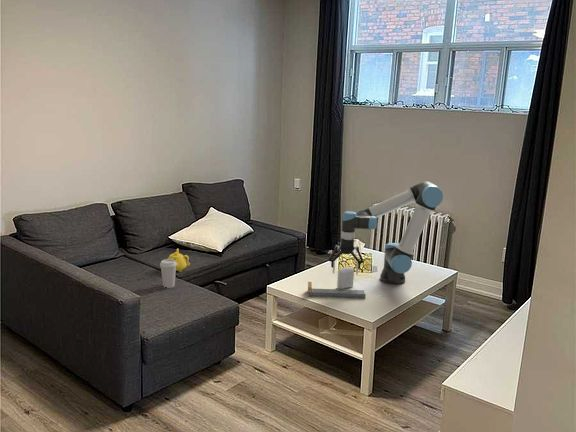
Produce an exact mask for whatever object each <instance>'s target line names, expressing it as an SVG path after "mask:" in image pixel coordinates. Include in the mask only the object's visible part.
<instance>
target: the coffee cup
mask: <svg viewBox="0 0 576 432" xmlns="http://www.w3.org/2000/svg"><path fill="white" fill-rule="evenodd" d="M176 265H177V263H176V261H175V260H173V259H168V258H167V259H166V258H165V259H163V260H161V262H160V263H159V266H160V270H161V279H162V287H163V286H164V287H163V288H165V287H167V288H166V289H173V288H174V287H175V286H176V285H175V284H176V283H175V282H176V273H177V272H176Z"/></svg>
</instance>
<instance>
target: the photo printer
mask: <svg viewBox="0 0 576 432" xmlns="http://www.w3.org/2000/svg"><path fill="white" fill-rule="evenodd" d="M354 276H355V269H354V267H352V266H343V267H341V268H339V269H338V270H337V281H336V282H337V283H336V285H337V289H342V290H345V289H348V288H352V287H354V279H355V278H354Z"/></svg>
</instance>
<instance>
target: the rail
mask: <svg viewBox="0 0 576 432" xmlns="http://www.w3.org/2000/svg"><path fill="white" fill-rule="evenodd" d="M312 283H313V282H312V281H307V297H308V298H309V297H311V298H332V299H333V298H335V299H336V298H337V299H363V300H364V299H366V296H367V295H366V292H365V290H364V289H339V288H337V289H335V288H313V284H312Z"/></svg>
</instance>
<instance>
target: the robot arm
mask: <svg viewBox="0 0 576 432" xmlns="http://www.w3.org/2000/svg"><path fill="white" fill-rule="evenodd" d="M443 201H444V194H443V191H442V189H441V188H440V187H439V186H437V185H436V184H434V183H432V182H431V181H422V182H419V183H417V184H415V185H412V186H410V187H409V188H408V189H407V190H405V191H404V192H401V193H399V194H396V195H394V196H392V197H390V198H387V199H386V200H384V201H381V202H379V203H377V204H375V205H372V206H370V207H367V208H364V209H359V210H357V211H356V212H355V211H351V210H346V211H344V212H343V213H342V219H341V221H342V222H341V234H340V235H341V236H340V245H337V244H335V245H334V249H333V250H332V252H331V254H330V255H329V257H328V262H330V263H331V265H330V267H331V268H332V274H335V267H336V262H335V261H336V260H338V258H339V257H340V256H341V255H352V256H353V258H354V259H355V260H356V269H355V275H358V274H359V270H360V269H361V264H363V263H364V259H363V257H362V254H361V252H360V246H358V245H357V246H355V237H356V236H355V234H356V233H355V232H356V229H358V230H376V228H377V226H378V219H377V218H380V217H382V216H384V215H386V214H390V213H391V212H393V211H396V210H398V209H400V208H403V207H405V206H407V205H410V204H412V203H414V204H415V209H414V211H413V213H412V215H411V217H410V219H409V222H408V224H407V226H406V228H405V230H404V233H403V235H402V237H401V239H400V242H389V243H386V244H385V245H384V247H385V248H384V259H383V269H382V270H381V273H380V275H379V280H380V281H381V282H383V283H386V284H390V285H401V284H404V283H406V275H405V274H406V273H408V272H409V271H410V269H411V268H412V267H413V261H412V260H413V258H414V256H415V252H414V249H415V247H416V245H417V243H418V240H419V238H420V237H421V234H422V232H423V230H424V228H425V225H426V224H427V221H428V220H429V217H430V214H431V213H433V212H435V211H436V208H437V207H438V206H440V205H441V203H442V202H443ZM338 250H339V252H338V253H337V251H338ZM354 251H356V252H357V254H358V256H359V257H357V255H356V254H355V253H354ZM336 253H337V254H336Z"/></svg>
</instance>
